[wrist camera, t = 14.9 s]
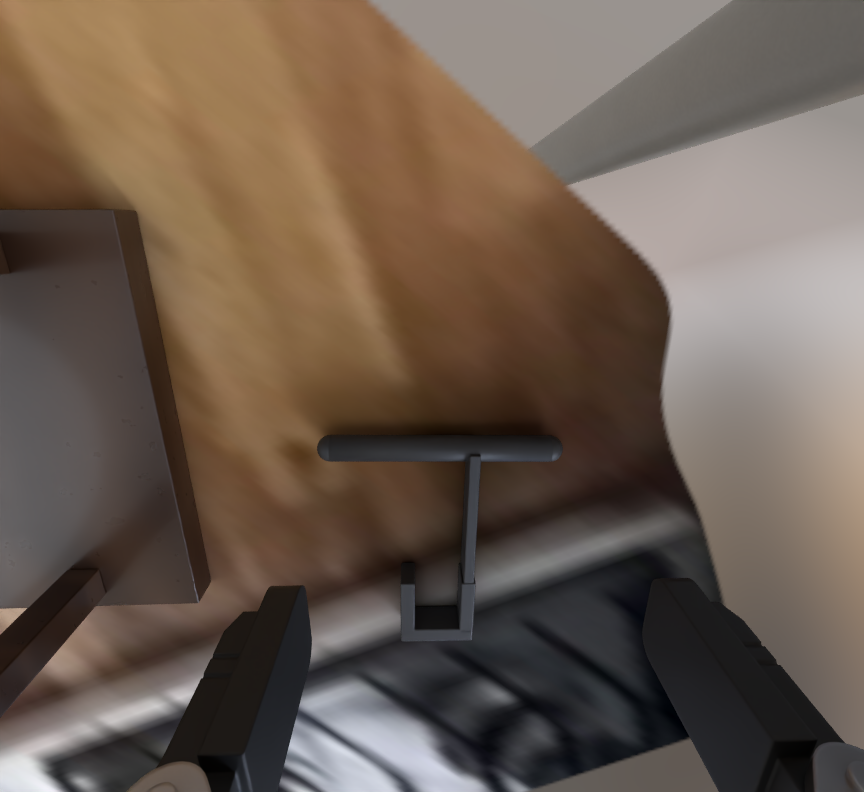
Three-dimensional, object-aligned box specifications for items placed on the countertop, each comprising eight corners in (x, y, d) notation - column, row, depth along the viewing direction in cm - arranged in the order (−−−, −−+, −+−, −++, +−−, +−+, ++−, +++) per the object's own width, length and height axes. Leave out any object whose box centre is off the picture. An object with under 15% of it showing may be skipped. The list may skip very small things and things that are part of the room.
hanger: (569, 444, 20) (543, 640, 24) (558, 429, 22) (535, 615, 26) (312, 443, 20) (327, 643, 24) (320, 428, 21) (333, 618, 25)
